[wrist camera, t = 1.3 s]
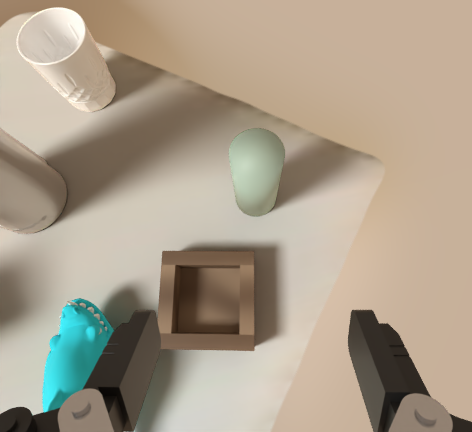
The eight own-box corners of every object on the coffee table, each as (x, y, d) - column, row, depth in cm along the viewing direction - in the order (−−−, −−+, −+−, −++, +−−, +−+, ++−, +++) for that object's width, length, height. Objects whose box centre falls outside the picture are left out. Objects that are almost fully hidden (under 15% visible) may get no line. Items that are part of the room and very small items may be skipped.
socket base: (254, 346, 36) (254, 350, 33) (164, 345, 37) (155, 348, 33) (254, 256, 39) (253, 251, 35) (170, 255, 39) (162, 250, 36)
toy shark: (135, 289, 39) (91, 282, 28) (166, 462, 34) (127, 531, 23) (53, 311, 38) (-20, 313, 28) (73, 490, 33) (-8, 571, 23)
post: (276, 216, 40) (285, 179, 28) (235, 216, 40) (228, 179, 29) (275, 178, 41) (284, 127, 30) (236, 178, 42) (229, 128, 30)
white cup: (67, 71, 48) (20, 10, 38) (121, 65, 47) (87, 3, 38) (63, 118, 45) (12, 67, 36) (119, 113, 45) (83, 60, 36)
